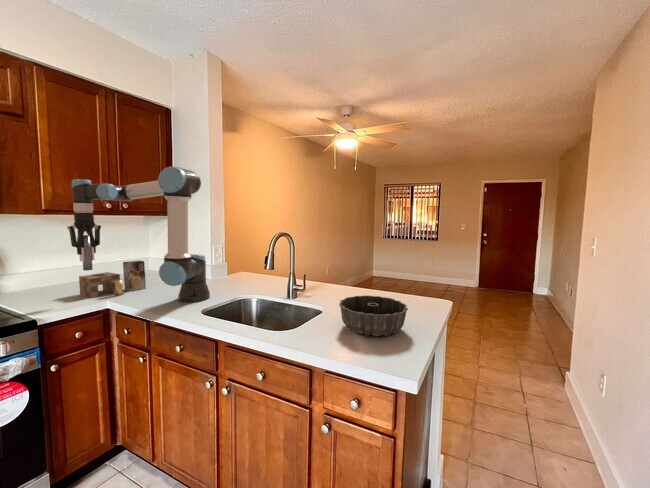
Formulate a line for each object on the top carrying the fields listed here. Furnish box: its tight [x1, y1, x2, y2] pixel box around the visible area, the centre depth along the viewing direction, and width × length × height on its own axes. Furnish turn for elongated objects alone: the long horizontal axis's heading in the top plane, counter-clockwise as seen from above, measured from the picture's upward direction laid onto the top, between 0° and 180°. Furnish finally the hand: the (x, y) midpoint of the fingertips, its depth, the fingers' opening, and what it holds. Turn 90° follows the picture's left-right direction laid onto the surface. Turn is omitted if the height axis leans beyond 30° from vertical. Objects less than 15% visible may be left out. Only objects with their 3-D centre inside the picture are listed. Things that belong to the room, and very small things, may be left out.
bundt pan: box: [338, 295, 409, 337], centre depth 122 cm, size 26×26×10 cm
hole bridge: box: [78, 271, 121, 299], centre depth 168 cm, size 12×14×10 cm
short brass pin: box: [114, 279, 124, 297], centre depth 165 cm, size 4×4×8 cm
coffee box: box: [122, 260, 147, 292], centre depth 178 cm, size 9×6×16 cm
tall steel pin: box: [81, 234, 94, 272], centre depth 151 cm, size 4×4×17 cm
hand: (87, 260), depth 151 cm, fingers closed on tall steel pin, 3 cm apart
